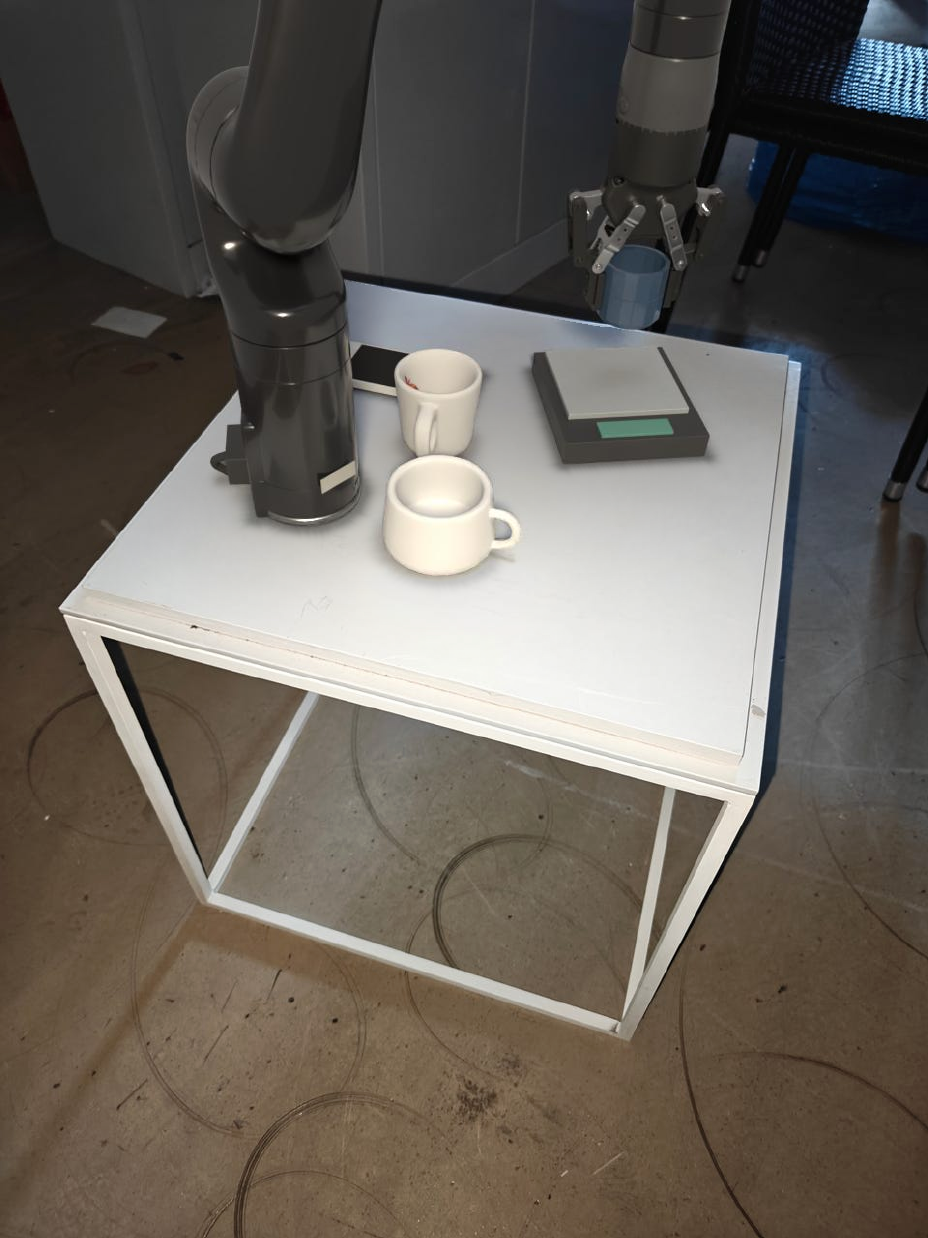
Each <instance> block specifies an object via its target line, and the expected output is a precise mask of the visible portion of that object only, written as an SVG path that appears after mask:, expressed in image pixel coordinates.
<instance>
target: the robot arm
mask: <svg viewBox="0 0 928 1238" xmlns="http://www.w3.org/2000/svg"><path fill="white" fill-rule="evenodd" d="M383 1H384V0H258V7H257V8H258V9H257V16H256V23H255V29H254V35H253V41H252V45H251V52H250V57H249V61H248V65H246V66H245V65H244V66H237V67H232V68H228V69H226V70H224V71H222V72H219V73H218V74H217V75H215V76H214V77H212V78H211V79H210V80H209V81H208V82H207V83H206V84H205V85H204V86H203V87H202V88H201V90H200V91H199V92H198V93H197V96H196V97H195V99H194V101H193V103H192V106H191V109H190V112H189V115H188V119H187V125H186V135H185V139H186V142H185V144H186V147H185V148H186V157H187V165H188V171H189V177H190V182H191V187H192V192H193V197H194V202H195V207H196V212H197V216H198V222H199V227H200V230H201V235H202V240H203V245H204V250H205V253H206V259H207V263H208V267H209V271H210V274H211V277H212V280H213V282H214V284H215V287H216V290H217V293H218V296H219V298H220V302H221V306H222V309H223V315H224V321H225V325H226V331H227V335H228V336H227V337H228V342H229V347H230V348H229V349H230V353H231V358H232V365H233V370H234V376H235V381H236V388H237V393H238V399H239V404H240V423H235V424H234V423H233V424H232V423H231V424H227V425H226V436H225V437H226V439H225V450H224V451H221V452H218V453H216V454H214V455H212V456H211V457H210V460H209V461H210V462H209V464H210V466H211V467H212V468H213V469H214V470H215V471H217V472H219V473H222V474H224V475H226V476H227V478H228V483H229V485H230V486H231V485H249V484H250V489H251V496H252V500H253V506H254V512H255V517H256V518H270V519H271V520H274V521H276V522H279V523H282V524H285V525H290V526H298V527H311V526H320V525H323V524H328V523H330V522H331V523H332V522H333V521H336V520H338V519H340V518H342V517H343V516H345V515H346V514H348V513H349V512H350V511H352V510H353V508H354V507H355V506H356V505H357V504H358V502H359V500H360V497H361V493H362V487H361V486H362V485H361V478H360V469H359V468H360V467H359V457H358V442H357V429H356V428H357V427H356V412H355V400H354V399H355V398H354V387H353V382H352V367H351V353H350V341H351V340H350V339H351V338H350V324H349V323H350V322H349V307H348V294H347V286H346V281H345V279H344V276H343V274H342V271H341V269H340V267H339V265H338V262H337V260H336V258H335V257H336V256H335V255H334V252H333V250H332V246H331V244H330V241H329V237H330V236H331V235H332V234H333V233H334V231H335V230H336V228H338V227H339V225H340V223H341V221H342V220H343V218H344V216H345V214H346V212H347V210H348V208H349V206H350V204H351V203H350V202H351V200H352V198H353V194H354V190H355V186H356V182H357V177H358V171H359V164H360V156H361V149H362V140H363V134H364V124H365V117H366V111H367V101H368V93H369V85H370V78H371V70H372V64H373V63H372V62H373V56H374V49H375V44H376V43H375V42H376V36H377V31H378V25H379V21H380V14H381V11H382V6H383ZM731 3H732V0H634V1H633V11H632V17H631V23H630V24H631V25H630V31H629V38H628V40H629V41H628V44H627V49H626V54H625V57H624V61H623V64H622V69H621V73H620V78H619V83H618V85H619V86H618V92H617V99H616V106H615V113H614V119H613V126H612V127H613V128H612V135H611V140H610V141H611V142H610V149H609V154H608V155H609V156H608V161H607V162H608V163H607V171H606V176H605V178H604V180H603V182H602V184H601V185H600V187H599V189H595V190H588V191H583V192H581V191H580V189H579V188H571V189H570V190H568V192H567V194H566V208H567V209H566V215H567V216H566V218H567V219H566V220H567V221H566V223H567V228H566V229H567V252H568V254H569V256H570V258H571V260H572V264H573V266H574V267H575V268H578V269H581V268H584V269H586V270H585V277H584V284H583V293H582V294H583V297H584V299H585V302H586V303H587V306H590V309H591V310H592V311H593V312H597V311H599V310H601V307H602V300H603V294H604V287H605V281H606V272H605V271H604V270H605V268H606V267H607V265H608V263H609V262H610V260H611V259H612V257H613V256H614V254H615V253H618V252H619V251H620V249H621V248H622V246H623V245H625V243H626V242H627V241H638V240H641V239H644V238H645V239H649V240H662V244H663V246H664V250H665V255H667V257H668V258H669V260H670V261H671V263H670V268H669V273H668V278H667V283H666V287H665V292H664V297H663V302H662V307H661V309H662V308H670V307H671V306H672V302H676V301H677V298H678V297H679V293H680V290H681V289H680V288H681V284H682V279H683V276H684V271H685V269H686V268H687V267H688V266H689V265H692V264H694V263H698V264H703V263H704V262H706V261H707V259H708V257H709V255H710V253H711V249H712V248H713V247H712V246H713V244H714V242H715V240H716V239H715V238H716V236H717V234H718V230H719V228H720V226H721V222H722V220H723V217H724V214H725V211H726V208H727V205H728V202H729V200H728V197H727V196H726V195H725V193H724V192H723V191H722V190H721V189H720V187H719V186H718V185H717V184H710V185H708V186H707V187H706V188H705V187H698V186H697V176H698V173H699V170H700V165H701V161H702V156H703V151H704V146H705V142H706V136H707V133H708V128H709V122H710V117H711V114H712V112H713V110H714V106H715V95H716V90H717V85H718V76H719V65H720V56H721V52H722V51H721V50H722V46H723V43H724V37H725V34H726V33H725V31H726V27H727V23H728V19H729V13H730V8H731ZM694 205H695V206H694ZM599 206H602V208H603V209H604V211H605V213H606V216H605V217H604V219H603V221H602V223H601V224H600V226H599V227H598V230H597V235H596V237H595V239H594V241H592V244H591V246H590V247H589V248H588V221H591V220H592V218H593V217H594V215H595V211H596V209H597V208H598V207H599ZM693 206H694V207H695V211H696V212H697V214H696V217H695V220H694V222H693V223H694V224H693V226H692V228H691V229H692V230H691V232H690V234H689V238H688V240H687V243H685V244H684V240H683V237H682V234H681V229H680V226H679V222H680V220H682V218H683V217H684V216H685V215H686V213H688V212H689V210H690V209H691V208H692V207H693ZM223 462H225V464H224V463H223Z"/></svg>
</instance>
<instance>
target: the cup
mask: <svg viewBox="0 0 928 1238" xmlns="http://www.w3.org/2000/svg"><path fill="white" fill-rule="evenodd" d="M411 353H412V354H409V355H408V356H406V357H404V358H403V359H402V360H401V361H400V362H399V363H398V364H397V366H396V368H395V373H394V377H395V384H396V392H397V396H396V397H397V398H396V399H397V405H398V412H399V420H400V428H401V432H402V436H403V439H404V442H405V444H406V446H407V447H408V449H410V450H411V451H412V452H413V453H414V454H415V456H416V458H418V457H423V456H429V455H448V456H454V457H457V456H459V455H460V454H461V453H463V452H464V451H466V450H467V448H468V446H469V445H470V443H471V441H472V438H473V435H474V430H475V425H476V419H477V413H478V408H479V401H480V395H481V388H482V384H483V370H482V368H481V366H480V364H479V363H478V362H477V361H476V360H475V359H473V358H472V356H469V355H467V354H465V353H462V352H460V351H457V350H454V349H447V348H427V349H422V350H416V351H414V352H411Z"/></svg>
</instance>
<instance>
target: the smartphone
mask: <svg viewBox="0 0 928 1238" xmlns="http://www.w3.org/2000/svg"><path fill="white" fill-rule="evenodd" d="M350 353H351V367H352V382H353V389H354V388H355V389H360V390H364V391H368V392H374V393H378V394H382V395H383V394H384V395H389V396H393V397H397V392H396V384H395V377H394V373H395V368H396V366H397V364H398V363H399V362H400V361H401V360H402V359H403V358H404V357H406V356H408V355H409V354H412V353H413V352H408V351H403V350H399V349H394V348H393V349H392V348H387V347H384V346H377V345H373V344H367V343H363V342H359V341H352V340H350Z"/></svg>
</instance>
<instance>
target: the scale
mask: <svg viewBox="0 0 928 1238" xmlns="http://www.w3.org/2000/svg"><path fill="white" fill-rule="evenodd" d="M531 373H532V377H533V379H534V382H535V385H536V388H537V392H538V395H539V397H540V399H541V400H540V401H541V403H542V405H543V408H544V409H543V410H544V411H545V414H546V418H547V420H548V424H549V427H550V429H551V432H552V435H553V437H554V440H555V444H556V446H557V447H556V448H557V449H558V452H559V455H560V458H561V461H562V464H563V465H573V464H575V465H576V464H590V463H591V464H592V463H606V462H607V463H608V462H623V461H626V462H627V461H641V460H656V459H657V460H658V459H659V460H660V459H675V458H677V459H678V458H692V457H704V456H705V455H706V452H707V448H708V444H709V441H710V437H711V435H710V433H709V431H708V429H707V427H706V425H705V423H704V422H703V420H702V417H700V414H699V412H698V411H697V409H696V407H695V404H694V403H693V401H692V400H691V398H690V396H689V394H688V392H687V391H686V388H685V386H684V385H683V383H682V381H681V379H680V378H679V377H680V376H679V375H678V374H677V372H676V370H675V368H674V365H673V364H672V363H671V360H670V359H669V357H668V355H667V353H666V351H665V349H664V348H663V346H657V345H641V346H637V345H636V346H618V347H617V346H616V347H595V348H573V349H572V348H571V349H570V348H569V349H549V350H548V349H547V350H545V351H538V352H537V351H536V352H533V358H532V367H531Z"/></svg>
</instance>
